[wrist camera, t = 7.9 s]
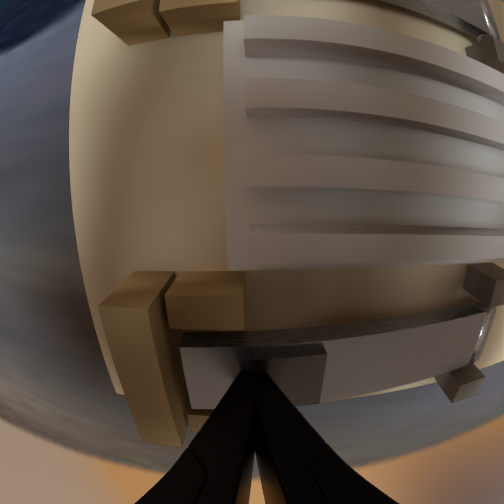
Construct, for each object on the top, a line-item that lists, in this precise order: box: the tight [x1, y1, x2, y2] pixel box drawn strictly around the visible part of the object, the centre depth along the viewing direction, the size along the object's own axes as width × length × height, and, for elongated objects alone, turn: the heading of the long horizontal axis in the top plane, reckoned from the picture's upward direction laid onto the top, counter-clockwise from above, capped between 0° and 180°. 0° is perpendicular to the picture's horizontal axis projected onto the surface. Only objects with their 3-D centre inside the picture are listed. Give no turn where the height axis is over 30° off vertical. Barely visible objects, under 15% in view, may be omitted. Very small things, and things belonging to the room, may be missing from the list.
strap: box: [180, 299, 497, 409], centre depth 8 cm, size 12×3×1 cm, turn 91°
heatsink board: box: [69, 0, 504, 447], centre depth 7 cm, size 20×19×4 cm
